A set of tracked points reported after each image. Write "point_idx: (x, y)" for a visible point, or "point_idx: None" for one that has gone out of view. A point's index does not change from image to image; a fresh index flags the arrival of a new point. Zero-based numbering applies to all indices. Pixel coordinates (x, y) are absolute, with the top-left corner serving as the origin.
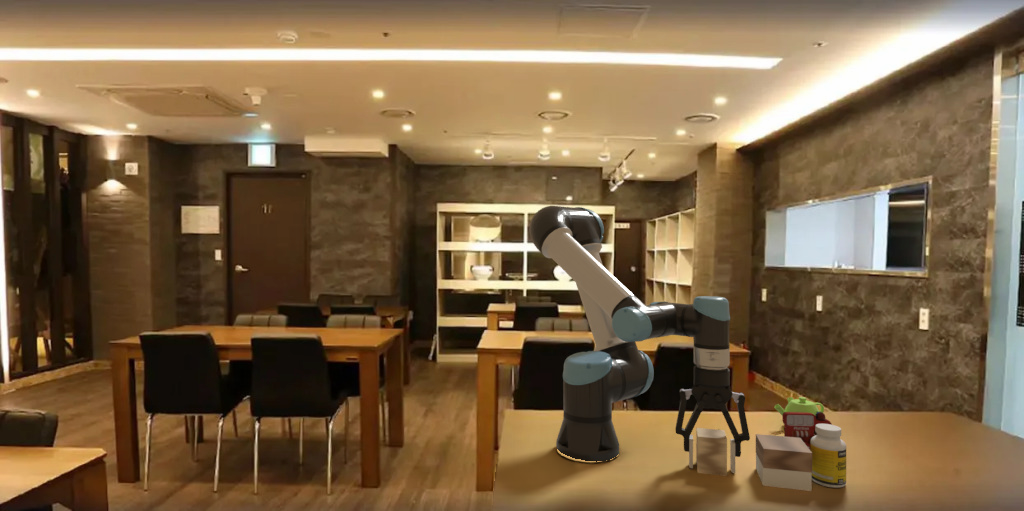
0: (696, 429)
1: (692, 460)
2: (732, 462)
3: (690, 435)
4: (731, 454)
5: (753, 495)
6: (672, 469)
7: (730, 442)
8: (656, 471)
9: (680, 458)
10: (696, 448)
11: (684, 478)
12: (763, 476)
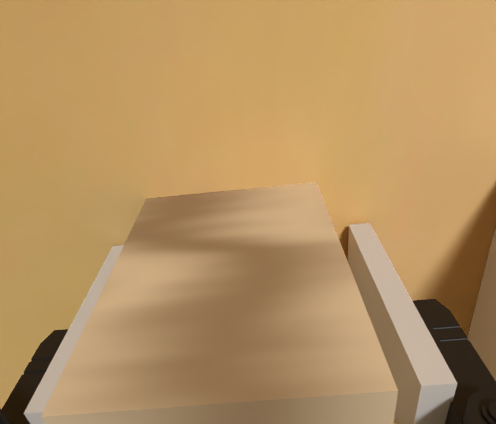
0: (52, 397)
1: None
2: None
3: (42, 421)
4: None
5: None
6: (59, 327)
7: (406, 367)
8: (6, 365)
9: (37, 176)
10: (122, 258)
11: None
12: (493, 377)
